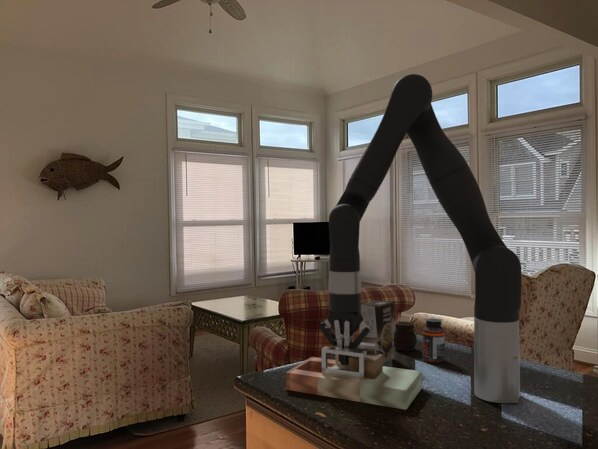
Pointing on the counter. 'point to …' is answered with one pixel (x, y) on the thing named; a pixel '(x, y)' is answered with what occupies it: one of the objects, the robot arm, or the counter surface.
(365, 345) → the tunnel
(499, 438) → the counter surface
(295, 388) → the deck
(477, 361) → the robot arm
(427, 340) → the supplement bottle
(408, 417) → the counter surface
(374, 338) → the coffee box
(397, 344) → the mate gourd
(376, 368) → the walnut block
